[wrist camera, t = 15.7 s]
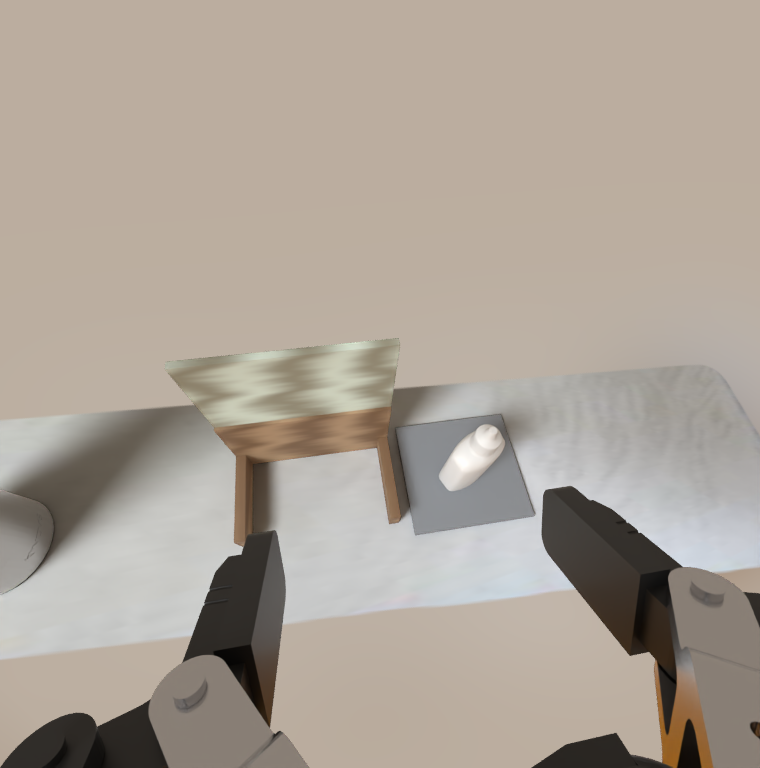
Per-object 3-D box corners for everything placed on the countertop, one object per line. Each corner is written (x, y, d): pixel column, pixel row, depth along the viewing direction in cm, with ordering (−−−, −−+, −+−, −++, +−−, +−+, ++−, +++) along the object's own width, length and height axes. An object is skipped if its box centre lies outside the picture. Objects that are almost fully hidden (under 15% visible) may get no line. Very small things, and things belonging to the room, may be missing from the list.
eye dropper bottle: (434, 454, 44) (456, 409, 34) (482, 451, 45) (518, 405, 34) (440, 493, 42) (466, 457, 32) (490, 489, 43) (532, 452, 32)
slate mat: (415, 535, 40) (415, 534, 40) (395, 428, 46) (395, 427, 46) (533, 516, 42) (534, 515, 41) (499, 415, 48) (500, 414, 47)
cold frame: (242, 546, 39) (147, 502, 22) (243, 456, 44) (165, 360, 26) (398, 522, 41) (425, 463, 24) (384, 438, 45) (398, 337, 28)
